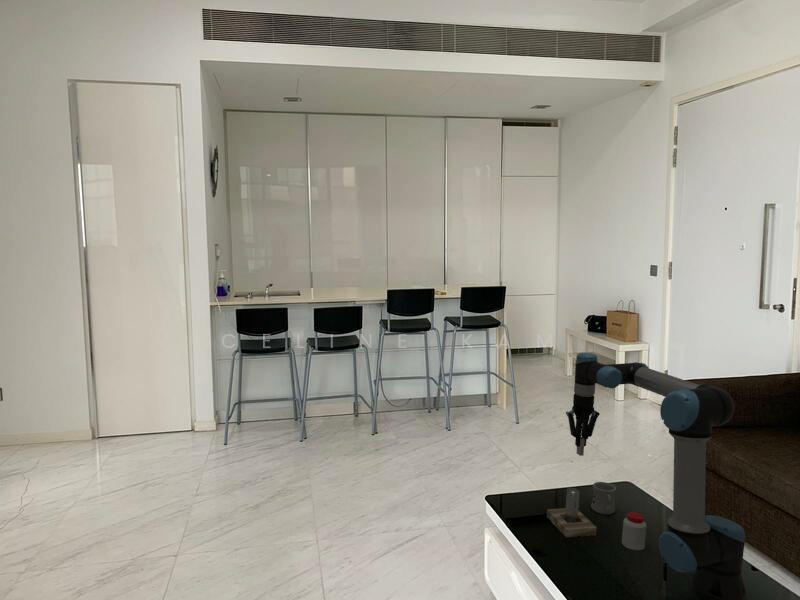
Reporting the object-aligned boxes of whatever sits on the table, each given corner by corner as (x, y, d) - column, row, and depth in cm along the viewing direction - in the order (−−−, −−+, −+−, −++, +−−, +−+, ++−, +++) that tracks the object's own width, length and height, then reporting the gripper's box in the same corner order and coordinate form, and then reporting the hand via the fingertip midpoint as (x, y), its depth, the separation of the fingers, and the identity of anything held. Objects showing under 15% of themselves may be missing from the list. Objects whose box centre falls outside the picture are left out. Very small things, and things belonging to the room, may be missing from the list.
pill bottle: (646, 551, 208) (649, 521, 207) (623, 548, 210) (625, 519, 209) (642, 540, 216) (644, 511, 215) (620, 538, 217) (622, 509, 216)
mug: (588, 504, 244) (589, 480, 243) (610, 505, 244) (612, 482, 243) (597, 518, 232) (598, 494, 231) (620, 519, 232) (622, 495, 230)
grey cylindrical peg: (579, 528, 224) (582, 492, 222) (568, 529, 223) (570, 493, 221) (573, 522, 228) (576, 487, 226) (562, 523, 227) (564, 488, 226)
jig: (596, 535, 219) (596, 527, 218) (565, 537, 216) (566, 529, 216) (575, 514, 234) (575, 507, 234) (546, 516, 232) (547, 509, 232)
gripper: (594, 391, 229) (590, 450, 232) (563, 391, 227) (559, 451, 230) (605, 396, 222) (600, 457, 225) (572, 397, 220) (568, 458, 222)
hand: (579, 454), depth 227 cm, fingers closed
